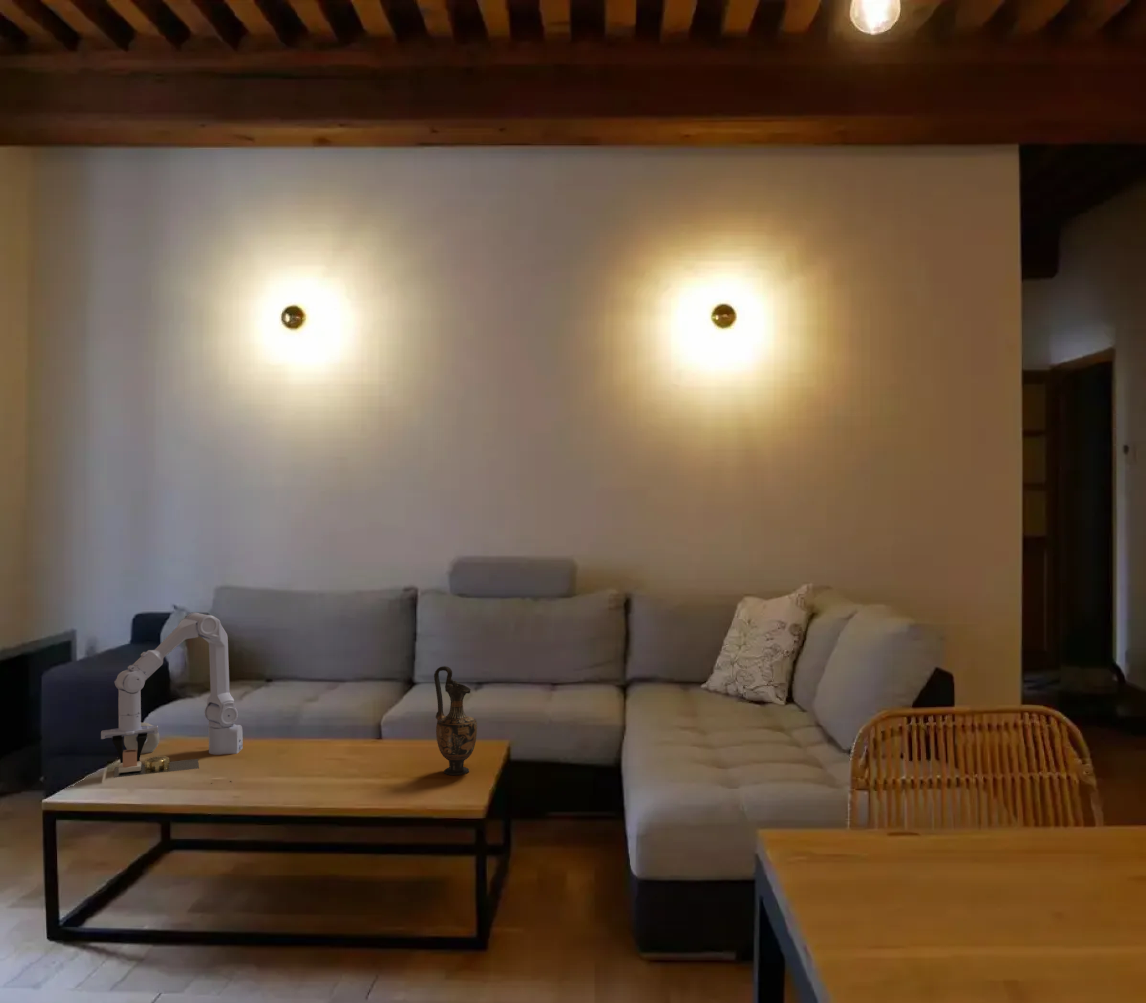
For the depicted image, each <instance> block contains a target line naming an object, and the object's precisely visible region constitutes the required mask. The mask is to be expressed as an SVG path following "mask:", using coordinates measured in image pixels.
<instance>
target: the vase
mask: <svg viewBox="0 0 1146 1003" xmlns="http://www.w3.org/2000/svg"><path fill="white" fill-rule="evenodd" d="M441 671H442V672H443V671H444V672H446V674H447V675H446V680H445V684H444V685H445V686H444V689H445V692H446V693H447V694H448V696H449V700H450V705H449V706H450V707H449V712H448V714H447V715H445V714H444V702H443V694H442V687H441V681H440V676H439V675H440V672H441ZM452 677H453V670H452V669H451V667H449V666H446V665H443V666H440V667H438V668H437V669H435V671H434V674H433V678H434V684H435V685H434V687H435V692H436V698H437V699H436V700H437V701H436V702H437V712H436V715H435V719H436V720H437V721H436V727H435V733H436V734H435V738H436V742H437V747H438V750H439V752H440V754H441V755H442V757H443V758H444V759H446V760H447V761H448V767H447V768H445V769H444V771H443V773H444V774H445V775H449V776H461V775H462V774H463V775H466V774H468V773H470V769H469V768H468V767H465V766H464V763H465V761H466V760H467V759H468V758H470V756H471V755H472V754H473V751H474V749H475V746H476V741H477V736H478V722H477V719H476V718H475V717H473V716H468V715H466V713H465V711H464V697H465V696H466V695H467V694H471V691H472V689H471V688H469V687H468V686H466V685H464V684H462V683H460V682H458V681H457V680H453V679H452ZM467 772H468V773H467ZM465 773H466V774H465Z"/></svg>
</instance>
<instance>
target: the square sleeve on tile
mask: <svg viewBox="0 0 1146 1003" xmlns="http://www.w3.org/2000/svg"><path fill="white" fill-rule="evenodd" d="M141 765H142V761H137V749H131V750H127V749H123V763H119V766H118V767H119V773H122V772H132V771H141Z"/></svg>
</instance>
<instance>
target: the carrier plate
mask: <svg viewBox="0 0 1146 1003" xmlns="http://www.w3.org/2000/svg"><path fill="white" fill-rule="evenodd" d="M196 769H200V765H199V758H195V759H183V760H175V761H170V757H168V756H167V755H166V756H165V755H162V756H159V755H156V756H153V757H147V758H146V759H144V764H141V771H132V772H122V773H119V766H118V767H116V766H115V768H114V774H113V778H115V779H116V778H122V777H132V776H141V775H150V774H157V773H158V774H160V773H169V772H177V771H178V772H179V771H185V770H189V771H190V770H196Z"/></svg>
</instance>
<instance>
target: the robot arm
mask: <svg viewBox="0 0 1146 1003" xmlns="http://www.w3.org/2000/svg"><path fill="white" fill-rule="evenodd" d="M199 637H200V638H202V639H204V640H205V641H206V642H207V643H208V652H209V653H208V654H209V655H208V656H209V682H210V685H209V686H210V694H209V696H208V697H207V698H206V699H207V700H206V706H205V708H204V716H205V718H206V720H207V721H208V754H210V755H229V754H230V755H233V754H234V755H235V754H236V755H237V754H238V753H239V752H241V751H242V750H243V748H244V747H243V745H244V743H243V742H244V741H243V740H244V739H243V735H244V734H243V726H242V725H241V724H235V722H237V720H238V716H239V712H238V709H237V707H236V702H235V698H234V697H233V696H232V695H231V693H230V669H229V668H230V667H229V666H230V664H229V661H230V660H229V641H228V640H229V638H228V637H229V636H228V633H227V632H226V630H225V629H224V627H223V625H222V624H221V620H220V619H219V618H217V617H216V616H214V615H211V614H205V613H204V614H203V613H201V612H197V611H196V612H195V611H193V612H190V613H189V614H188V615H186V617H185V618H184V619H181V621H180V622H179V624H178V625H177V626H176V628H174V629H173V631H171V633H169V634H168V636H166V638H165V639H163V641H162V642H161V643H160V644H159V645H158V646H157V647H156V648H154V649H148V650H147V651H142V653H141V654H140V657H139V658H138V659H137V660H136V661H135V662H134V663H132V664H129V665H128V666H127V669H125V670H123V671H121V672H119V673H118V674H117V677H116V678H115V680H114V685H115V687H116V689H118V698H117V699H118V728H111V729H105V730H101V732H100V740H104V739H110V738H111V739H112V743H113V745H114V746H115V749H116V751H117V753H118V754H117V755H118V757H119V761H120V763H119V764H123V750H124V749H123V748H124V747H123V746H124V736H133V735H138V736H137V737H136V741H137V743H138V752H137V762H141V761H140V760H141V751H142V748H143V746H144V744H145V743H146V742H147V740H148V739H147V734H158V733H159V725H153V726H141V723H142V709H141V708H142V702H141V701H142V697H141V696H142V695H141V692H142V691H141V690H142V689H143V688H144V686H145V683H146V681H147V680H148V679H149V678H150V677H151V676H152V675H153V674H154V673H155V672H156V671H157V670H158V669H159V668H160V667H161V666H163V664H164V658H165V657H166V656H167V655H169V654H170V653H171V652H172V651H173V650H174V649H175V648H177V647H178V646H180V644H182V643H183V642H184V641H186V640H188V639H197V638H199Z"/></svg>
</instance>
